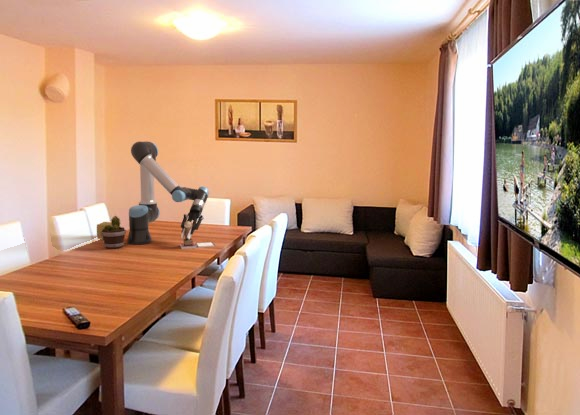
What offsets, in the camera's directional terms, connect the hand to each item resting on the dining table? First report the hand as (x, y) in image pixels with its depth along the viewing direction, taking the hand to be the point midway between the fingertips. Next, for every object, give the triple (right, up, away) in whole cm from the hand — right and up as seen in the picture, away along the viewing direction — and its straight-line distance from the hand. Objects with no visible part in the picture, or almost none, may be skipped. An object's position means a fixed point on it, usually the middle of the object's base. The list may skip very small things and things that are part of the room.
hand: (185, 238), depth 273 cm
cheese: (-59, -2, +27) cm, 64 cm away
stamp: (+1, -4, +4) cm, 6 cm away
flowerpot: (-44, -6, 0) cm, 44 cm away
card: (+10, -5, +10) cm, 15 cm away
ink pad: (+1, -6, +5) cm, 7 cm away
